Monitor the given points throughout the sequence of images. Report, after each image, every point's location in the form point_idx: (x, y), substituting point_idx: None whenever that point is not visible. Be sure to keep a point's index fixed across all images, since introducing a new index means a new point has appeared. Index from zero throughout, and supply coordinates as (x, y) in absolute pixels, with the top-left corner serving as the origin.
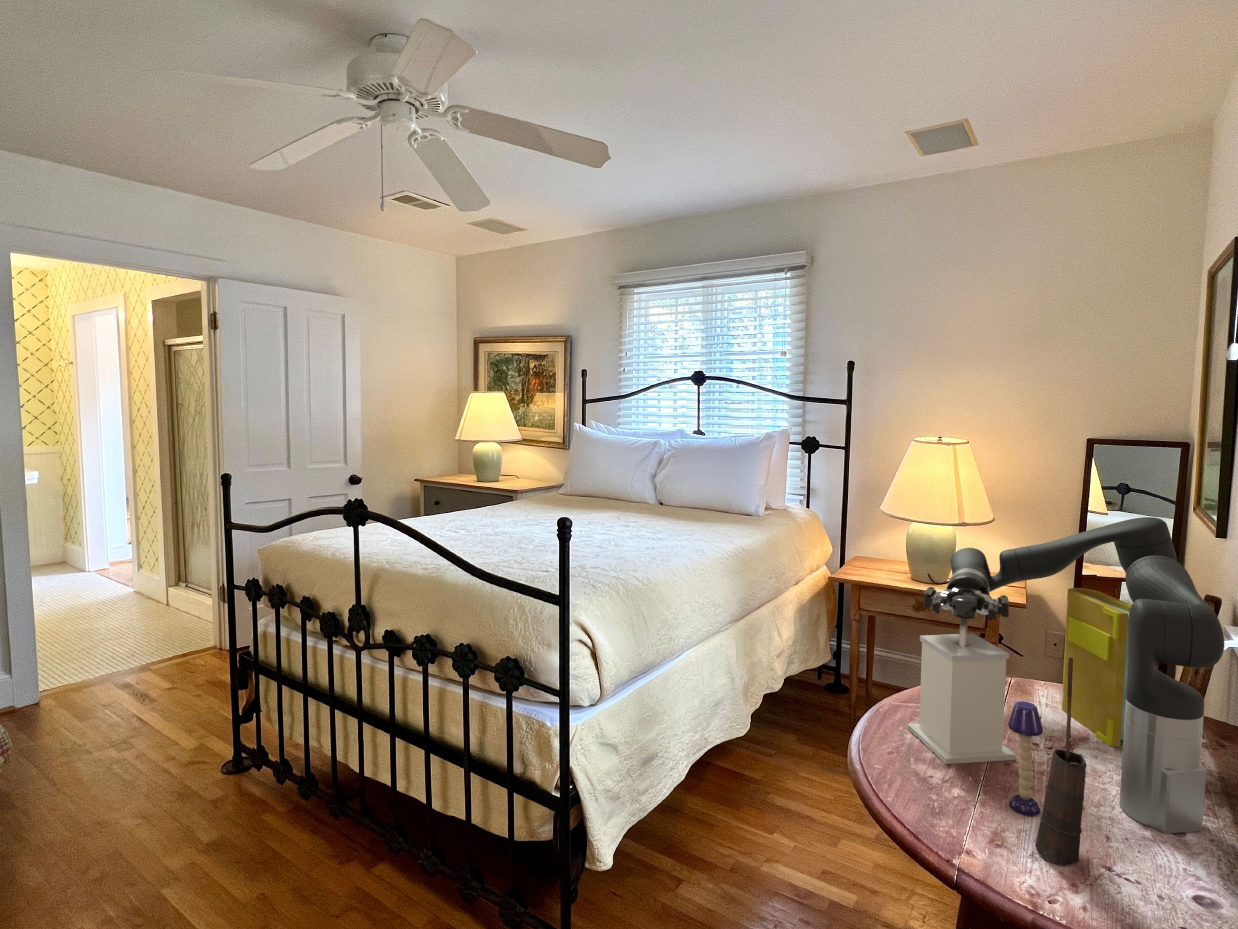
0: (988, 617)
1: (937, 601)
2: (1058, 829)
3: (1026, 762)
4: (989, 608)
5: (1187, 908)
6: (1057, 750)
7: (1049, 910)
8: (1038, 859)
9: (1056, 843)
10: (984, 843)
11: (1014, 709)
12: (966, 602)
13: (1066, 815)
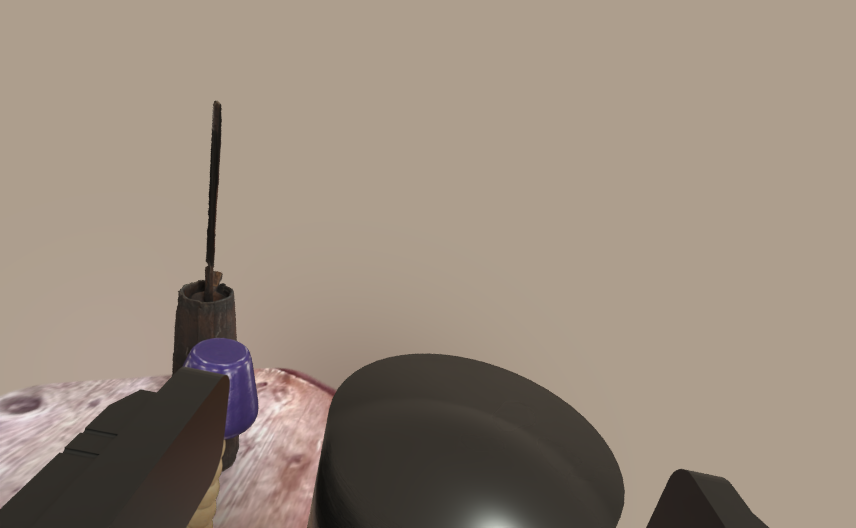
0: (219, 439)
1: (727, 493)
2: None
3: None
4: (211, 378)
5: (70, 392)
6: (219, 300)
7: (271, 375)
8: (242, 441)
9: None
10: (318, 459)
11: (252, 363)
12: (446, 355)
13: None
